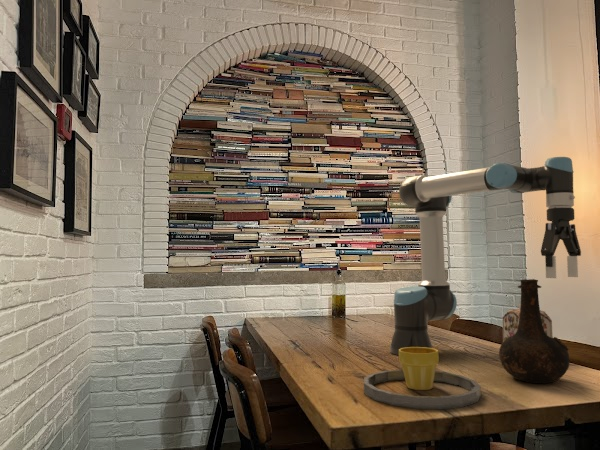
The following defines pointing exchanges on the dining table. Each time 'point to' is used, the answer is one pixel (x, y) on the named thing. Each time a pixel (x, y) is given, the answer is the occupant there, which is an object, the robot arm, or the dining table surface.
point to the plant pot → (419, 366)
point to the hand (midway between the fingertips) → (562, 277)
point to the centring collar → (422, 401)
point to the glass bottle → (533, 344)
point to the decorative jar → (513, 321)
